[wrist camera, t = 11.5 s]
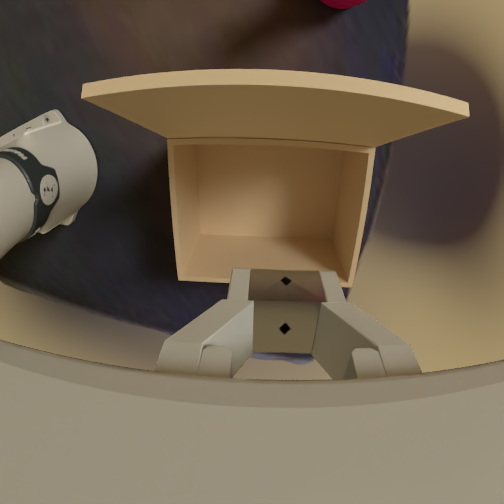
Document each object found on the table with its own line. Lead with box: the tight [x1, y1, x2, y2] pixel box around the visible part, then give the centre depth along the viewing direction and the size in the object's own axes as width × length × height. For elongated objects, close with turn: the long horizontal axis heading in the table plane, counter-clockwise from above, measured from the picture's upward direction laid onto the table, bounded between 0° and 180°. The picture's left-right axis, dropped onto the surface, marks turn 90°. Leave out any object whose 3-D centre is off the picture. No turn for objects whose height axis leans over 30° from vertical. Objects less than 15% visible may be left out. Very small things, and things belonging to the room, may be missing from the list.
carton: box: [167, 137, 375, 287], centre depth 38 cm, size 20×16×12 cm
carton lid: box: [81, 69, 469, 147], centre depth 21 cm, size 20×16×1 cm
